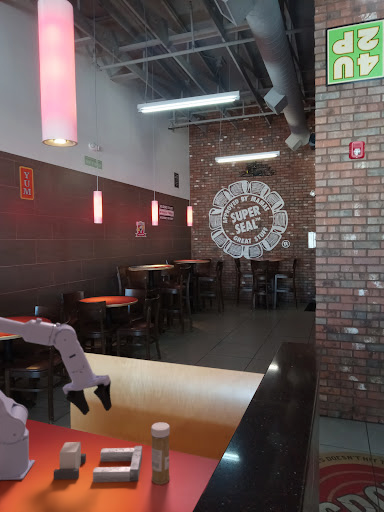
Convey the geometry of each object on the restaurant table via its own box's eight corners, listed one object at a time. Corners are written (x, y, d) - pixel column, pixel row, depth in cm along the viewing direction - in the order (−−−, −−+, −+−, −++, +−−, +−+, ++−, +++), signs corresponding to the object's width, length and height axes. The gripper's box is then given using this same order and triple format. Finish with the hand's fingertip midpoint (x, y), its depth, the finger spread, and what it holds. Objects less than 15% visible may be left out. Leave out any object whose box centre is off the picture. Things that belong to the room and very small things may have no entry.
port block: (92, 482, 91) (92, 470, 91) (101, 457, 102) (102, 446, 102) (137, 481, 91) (138, 469, 91) (142, 456, 102) (142, 445, 102)
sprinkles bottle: (173, 481, 91) (173, 426, 91) (156, 487, 89) (156, 431, 88) (164, 472, 95) (164, 419, 95) (148, 477, 92) (148, 424, 92)
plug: (59, 476, 93) (59, 452, 93) (65, 464, 98) (65, 442, 98) (75, 475, 93) (75, 452, 93) (80, 464, 98) (80, 442, 98)
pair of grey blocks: (53, 479, 92) (53, 471, 92) (63, 461, 100) (63, 454, 100) (78, 479, 92) (78, 471, 92) (85, 460, 100) (85, 453, 100)
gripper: (107, 354, 102) (126, 397, 103) (66, 364, 107) (84, 405, 108) (94, 368, 95) (114, 413, 97) (50, 378, 100) (71, 421, 102)
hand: (97, 410), depth 102 cm, fingers open, 7 cm apart
